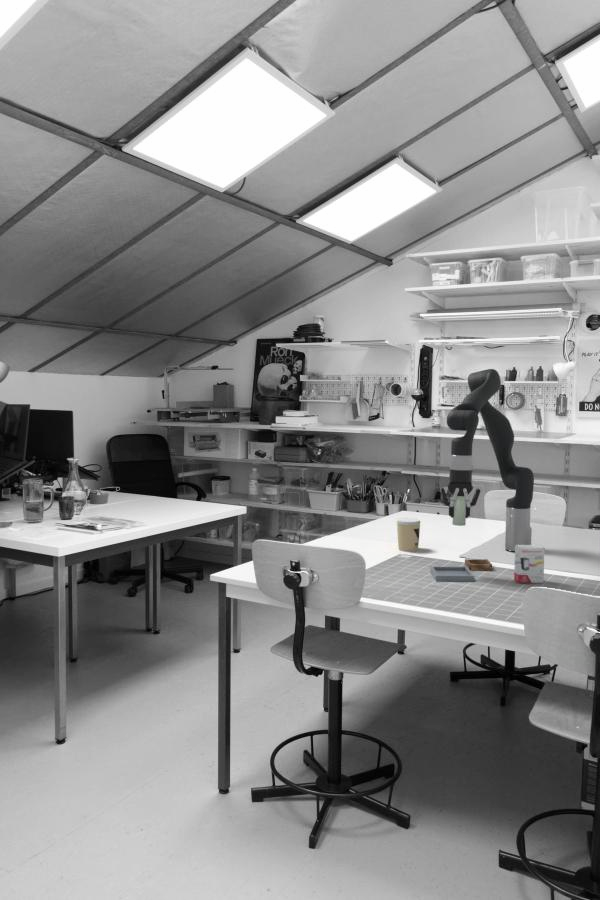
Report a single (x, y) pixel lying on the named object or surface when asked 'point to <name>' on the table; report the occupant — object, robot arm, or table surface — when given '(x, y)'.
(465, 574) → the tray
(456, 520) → the peg
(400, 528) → the coffee cup
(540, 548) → the ink box
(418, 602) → the table surface
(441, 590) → the table surface
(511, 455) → the robot arm
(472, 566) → the socket
